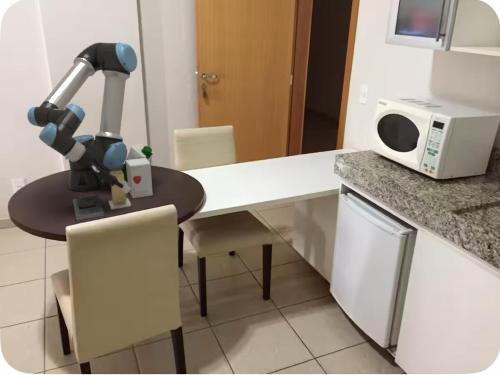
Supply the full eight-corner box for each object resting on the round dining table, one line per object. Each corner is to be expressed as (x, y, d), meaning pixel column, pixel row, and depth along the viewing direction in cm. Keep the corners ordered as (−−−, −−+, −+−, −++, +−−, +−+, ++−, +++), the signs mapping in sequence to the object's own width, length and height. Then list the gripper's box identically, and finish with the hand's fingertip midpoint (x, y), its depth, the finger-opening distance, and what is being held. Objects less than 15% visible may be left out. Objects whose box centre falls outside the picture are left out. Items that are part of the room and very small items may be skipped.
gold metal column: (112, 199, 177) (108, 171, 172) (124, 197, 179) (121, 170, 174) (114, 203, 172) (110, 175, 168) (126, 201, 174) (123, 173, 170)
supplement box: (132, 198, 182) (129, 165, 176) (128, 191, 189) (124, 159, 184) (153, 195, 185) (150, 162, 180) (148, 188, 193) (145, 157, 187)
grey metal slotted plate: (73, 203, 177) (72, 198, 176) (98, 199, 181) (97, 195, 180) (76, 220, 161) (75, 215, 161) (103, 216, 165) (103, 211, 165)
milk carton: (130, 187, 195) (146, 154, 185) (115, 175, 196) (130, 142, 186) (141, 181, 203) (157, 149, 193) (127, 170, 203) (142, 137, 194)
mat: (108, 202, 178) (108, 200, 178) (128, 199, 181) (127, 198, 181) (111, 209, 171) (111, 208, 171) (131, 206, 174) (131, 204, 174)
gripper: (71, 155, 171) (118, 188, 183) (74, 169, 155) (125, 203, 168) (83, 141, 171) (129, 174, 183) (88, 153, 155) (137, 189, 168)
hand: (127, 188), depth 175 cm, fingers open, 5 cm apart
